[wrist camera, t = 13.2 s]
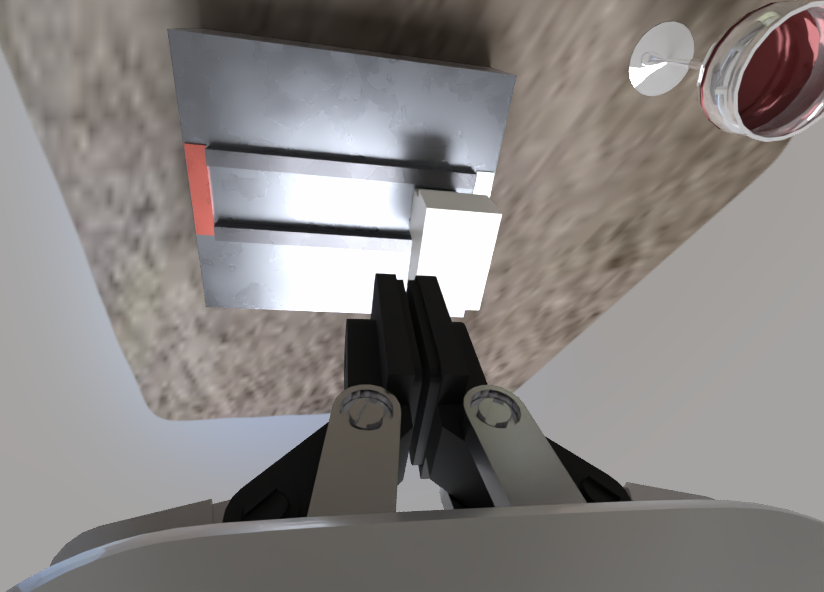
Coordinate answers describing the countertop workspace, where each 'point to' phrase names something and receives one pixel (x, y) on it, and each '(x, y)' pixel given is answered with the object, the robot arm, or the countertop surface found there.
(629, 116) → the countertop surface
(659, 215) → the countertop surface
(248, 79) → the slider base
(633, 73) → the wineglass
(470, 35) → the countertop surface
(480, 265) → the handle
